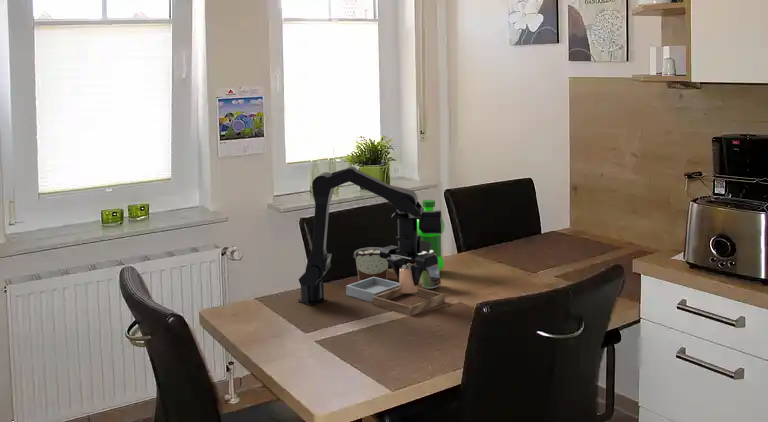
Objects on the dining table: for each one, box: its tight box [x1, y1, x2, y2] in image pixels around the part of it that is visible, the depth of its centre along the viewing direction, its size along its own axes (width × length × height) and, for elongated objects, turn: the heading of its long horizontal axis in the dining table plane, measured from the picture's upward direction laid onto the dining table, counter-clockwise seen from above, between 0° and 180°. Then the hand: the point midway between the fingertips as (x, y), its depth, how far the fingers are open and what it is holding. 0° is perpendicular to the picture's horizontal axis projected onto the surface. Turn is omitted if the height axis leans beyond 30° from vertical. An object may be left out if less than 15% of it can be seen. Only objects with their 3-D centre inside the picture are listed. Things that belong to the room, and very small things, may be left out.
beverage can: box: [418, 250, 442, 290], centre depth 254 cm, size 6×7×12 cm
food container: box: [353, 246, 389, 282], centre depth 266 cm, size 12×6×10 cm, turn 84°
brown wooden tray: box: [372, 287, 446, 316], centre depth 240 cm, size 15×15×2 cm
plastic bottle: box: [417, 199, 446, 272], centre depth 268 cm, size 10×10×25 cm
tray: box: [345, 277, 400, 303], centre depth 250 cm, size 12×12×3 cm
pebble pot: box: [398, 262, 419, 294], centre depth 239 cm, size 6×6×8 cm
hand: (408, 283), depth 239 cm, fingers closed on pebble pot, 6 cm apart
